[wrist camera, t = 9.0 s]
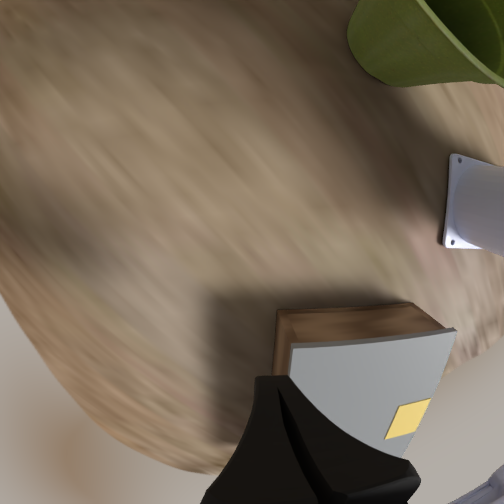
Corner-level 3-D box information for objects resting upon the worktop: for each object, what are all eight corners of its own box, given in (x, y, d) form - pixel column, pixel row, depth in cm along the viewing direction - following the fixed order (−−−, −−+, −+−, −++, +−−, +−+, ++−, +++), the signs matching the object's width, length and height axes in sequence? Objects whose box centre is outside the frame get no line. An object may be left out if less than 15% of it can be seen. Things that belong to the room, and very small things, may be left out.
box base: (412, 302, 23) (445, 328, 18) (371, 431, 27) (388, 462, 22) (276, 309, 22) (290, 345, 17) (264, 446, 26) (271, 484, 21)
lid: (452, 327, 18) (458, 331, 17) (392, 465, 22) (394, 469, 21) (291, 343, 17) (293, 349, 16) (271, 486, 21) (271, 491, 20)
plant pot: (460, 68, 18) (550, 44, 7) (397, 145, 20) (513, 138, 9) (369, -28, 15) (431, -94, 5) (282, 31, 17) (330, -67, 6)
